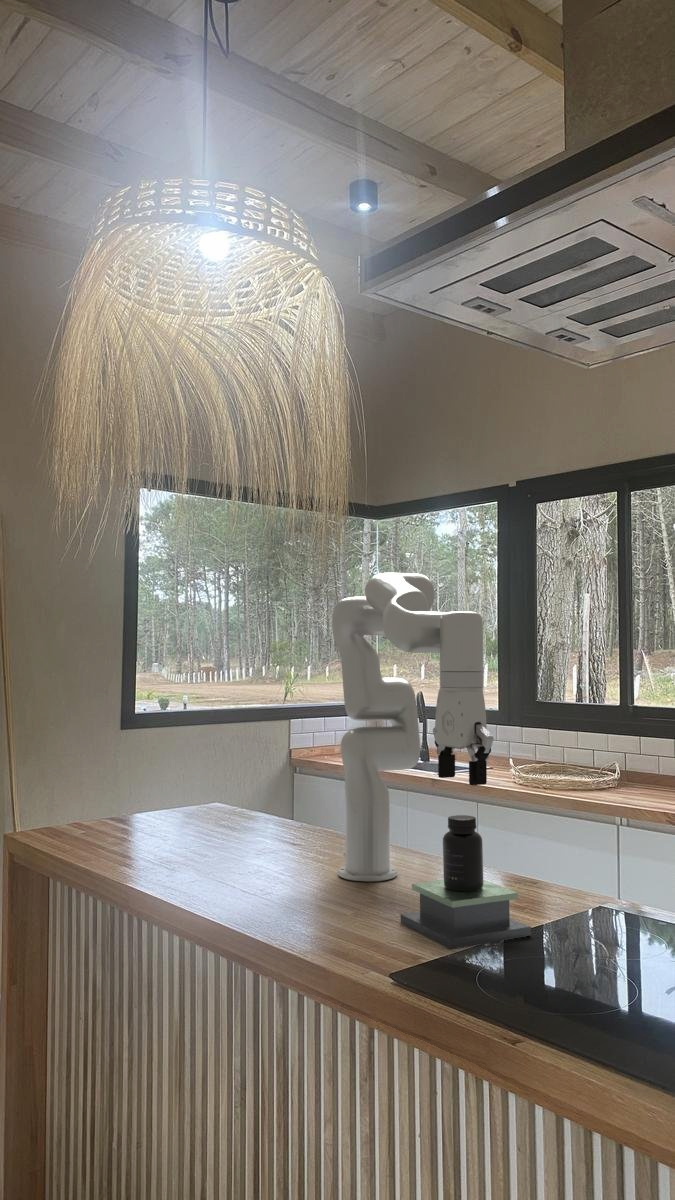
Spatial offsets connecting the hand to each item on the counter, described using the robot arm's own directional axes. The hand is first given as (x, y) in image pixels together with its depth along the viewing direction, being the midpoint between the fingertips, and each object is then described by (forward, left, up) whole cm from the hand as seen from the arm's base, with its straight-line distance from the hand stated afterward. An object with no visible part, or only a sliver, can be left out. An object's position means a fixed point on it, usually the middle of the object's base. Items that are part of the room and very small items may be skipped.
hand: (461, 780), depth 157 cm
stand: (0, 0, -25) cm, 25 cm away
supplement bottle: (0, 0, -18) cm, 18 cm away
